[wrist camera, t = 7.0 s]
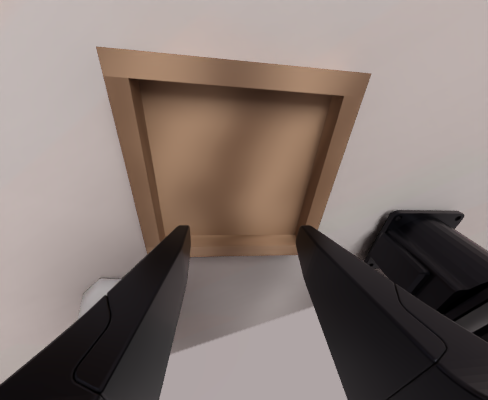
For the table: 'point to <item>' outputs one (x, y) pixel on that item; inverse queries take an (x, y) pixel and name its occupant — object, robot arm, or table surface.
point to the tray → (229, 146)
